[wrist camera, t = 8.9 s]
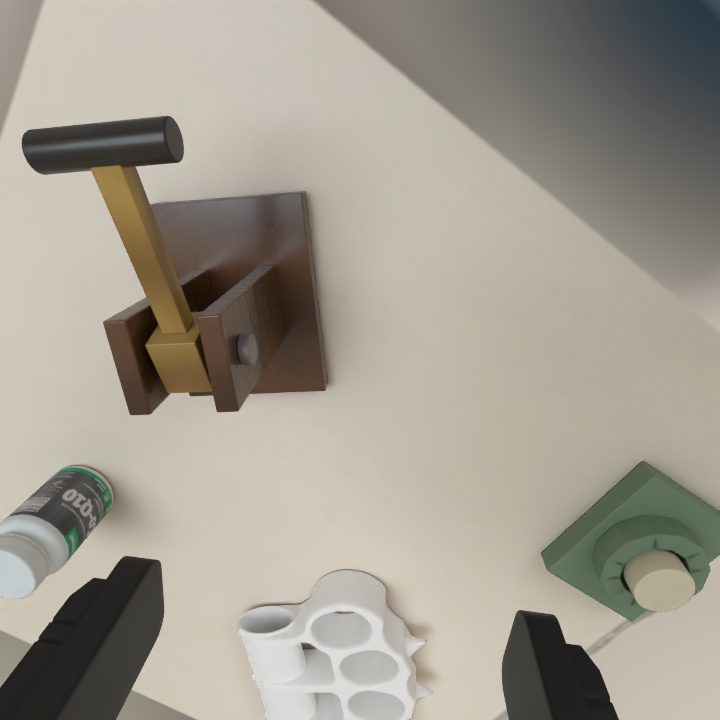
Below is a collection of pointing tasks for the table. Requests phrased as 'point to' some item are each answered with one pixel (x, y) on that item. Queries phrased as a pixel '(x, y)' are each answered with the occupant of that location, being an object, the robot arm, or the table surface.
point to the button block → (635, 537)
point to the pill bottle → (50, 528)
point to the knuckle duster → (334, 654)
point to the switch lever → (134, 225)
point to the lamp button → (659, 580)
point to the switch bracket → (233, 301)
